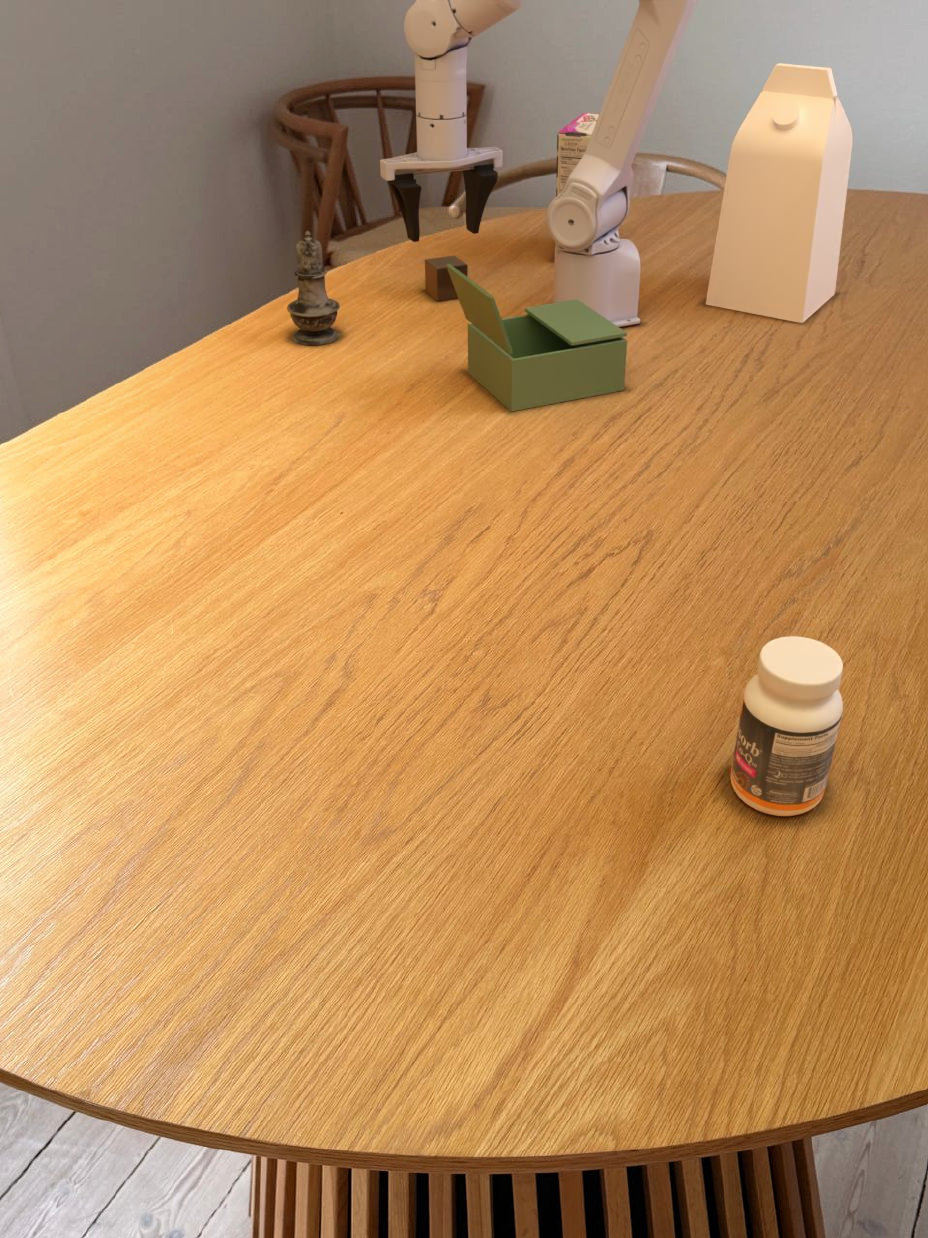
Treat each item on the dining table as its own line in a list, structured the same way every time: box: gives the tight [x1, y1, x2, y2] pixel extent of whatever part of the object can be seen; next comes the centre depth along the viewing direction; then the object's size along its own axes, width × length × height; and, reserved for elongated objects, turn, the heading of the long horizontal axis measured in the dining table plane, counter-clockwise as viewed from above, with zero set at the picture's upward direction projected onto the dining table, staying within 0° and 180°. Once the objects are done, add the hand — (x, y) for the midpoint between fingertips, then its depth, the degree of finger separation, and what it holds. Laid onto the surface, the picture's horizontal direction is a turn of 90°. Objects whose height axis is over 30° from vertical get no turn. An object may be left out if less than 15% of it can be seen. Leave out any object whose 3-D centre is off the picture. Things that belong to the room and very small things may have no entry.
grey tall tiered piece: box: [286, 230, 341, 347], centre depth 134 cm, size 6×6×12 cm
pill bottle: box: [730, 635, 844, 817], centre depth 72 cm, size 6×6×10 cm
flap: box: [446, 264, 513, 354], centre depth 119 cm, size 6×11×1 cm
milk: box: [705, 62, 854, 324], centre depth 139 cm, size 12×12×26 cm
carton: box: [467, 299, 628, 412], centre depth 125 cm, size 13×11×6 cm
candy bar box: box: [555, 112, 599, 197], centre depth 158 cm, size 11×5×16 cm, turn 159°
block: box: [424, 254, 469, 302], centre depth 148 cm, size 4×4×4 cm
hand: (443, 235), depth 145 cm, fingers open, 7 cm apart
